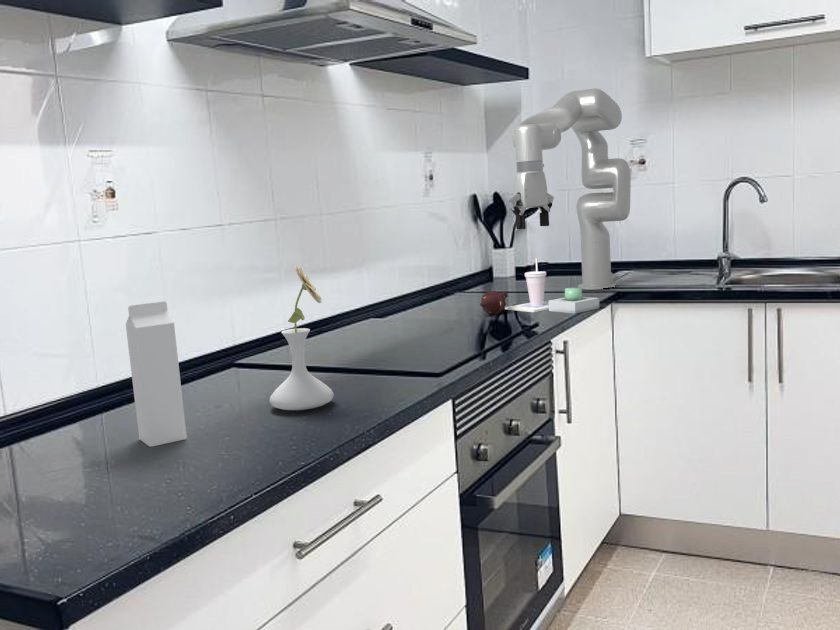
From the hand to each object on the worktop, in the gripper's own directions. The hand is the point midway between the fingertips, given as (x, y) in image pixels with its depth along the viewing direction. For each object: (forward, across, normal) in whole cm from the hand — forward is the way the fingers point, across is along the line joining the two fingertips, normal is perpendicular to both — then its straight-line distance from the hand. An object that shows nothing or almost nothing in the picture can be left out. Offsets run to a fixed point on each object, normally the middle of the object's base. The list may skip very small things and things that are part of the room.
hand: (532, 227), depth 247 cm
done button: (+21, -2, +13) cm, 25 cm away
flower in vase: (+22, +106, +46) cm, 117 cm away
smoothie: (+23, 0, 0) cm, 23 cm away
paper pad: (+24, 0, 0) cm, 24 cm away
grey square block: (+24, -2, +13) cm, 27 cm away
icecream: (+24, +15, -2) cm, 28 cm away
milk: (+22, +132, +46) cm, 141 cm away
